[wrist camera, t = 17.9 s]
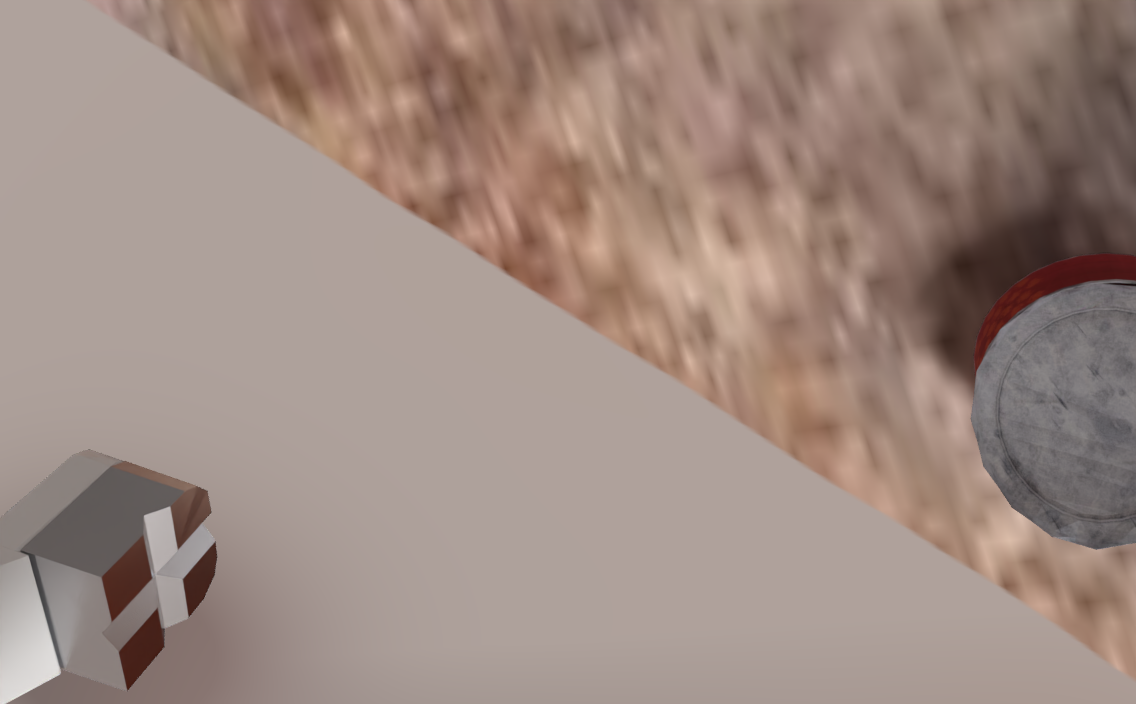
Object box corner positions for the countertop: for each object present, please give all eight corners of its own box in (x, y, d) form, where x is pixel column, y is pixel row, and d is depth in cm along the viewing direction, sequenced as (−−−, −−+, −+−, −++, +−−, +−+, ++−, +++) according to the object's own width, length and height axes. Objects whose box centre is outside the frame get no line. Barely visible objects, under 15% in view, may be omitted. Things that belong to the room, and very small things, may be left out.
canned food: (975, 359, 53) (875, 424, 47) (1099, 192, 47) (1003, 240, 40) (1180, 517, 49) (1100, 615, 42) (1348, 356, 42) (1285, 440, 36)
